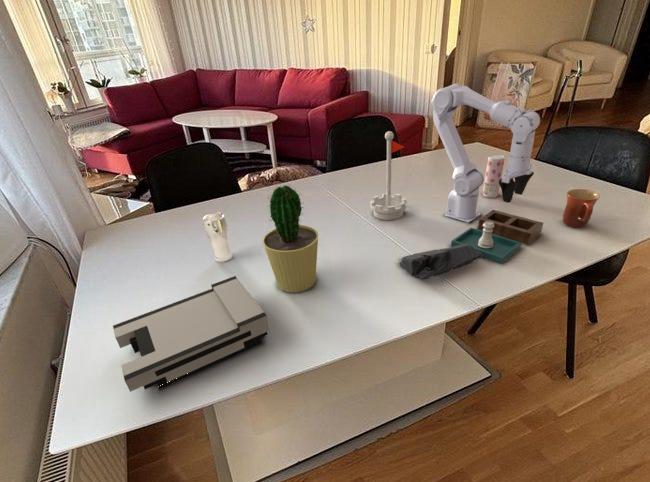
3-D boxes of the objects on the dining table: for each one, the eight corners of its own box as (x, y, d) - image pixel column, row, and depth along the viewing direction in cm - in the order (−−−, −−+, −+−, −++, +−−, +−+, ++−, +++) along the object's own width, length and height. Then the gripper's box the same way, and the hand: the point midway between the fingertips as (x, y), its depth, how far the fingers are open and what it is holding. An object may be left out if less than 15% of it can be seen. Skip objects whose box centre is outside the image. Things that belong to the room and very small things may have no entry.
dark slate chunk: (491, 264, 110) (491, 248, 108) (418, 283, 107) (418, 267, 105) (460, 246, 123) (460, 232, 121) (395, 262, 120) (394, 248, 118)
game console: (123, 346, 99) (110, 321, 94) (241, 299, 111) (235, 275, 106) (136, 403, 83) (122, 376, 79) (272, 341, 95) (266, 315, 91)
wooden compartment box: (477, 229, 131) (479, 218, 129) (491, 220, 136) (493, 209, 134) (527, 245, 120) (530, 233, 118) (540, 234, 125) (543, 222, 123)
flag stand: (366, 219, 146) (365, 136, 129) (375, 204, 155) (375, 126, 139) (402, 222, 141) (405, 137, 124) (409, 207, 151) (412, 126, 134)
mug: (555, 217, 133) (563, 189, 127) (584, 217, 131) (593, 188, 125) (566, 234, 123) (575, 204, 118) (598, 235, 121) (609, 204, 116)
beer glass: (238, 252, 134) (228, 212, 125) (228, 263, 128) (217, 222, 120) (220, 251, 136) (210, 211, 128) (209, 261, 131) (198, 221, 122)
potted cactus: (304, 302, 107) (290, 199, 91) (260, 289, 114) (240, 191, 98) (332, 273, 117) (324, 177, 101) (290, 263, 125) (276, 171, 109)
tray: (450, 246, 124) (451, 240, 123) (470, 232, 130) (470, 227, 129) (501, 263, 113) (502, 258, 112) (520, 248, 119) (521, 242, 118)
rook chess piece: (475, 243, 123) (478, 220, 119) (489, 241, 123) (493, 218, 119) (481, 250, 119) (485, 226, 115) (495, 248, 120) (500, 224, 115)
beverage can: (499, 193, 153) (506, 154, 145) (496, 198, 150) (503, 159, 141) (484, 191, 156) (490, 153, 148) (480, 196, 152) (486, 158, 144)
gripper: (522, 164, 112) (514, 208, 119) (545, 150, 119) (536, 193, 126) (498, 160, 116) (491, 203, 124) (521, 147, 124) (514, 188, 131)
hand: (512, 197), depth 125 cm, fingers open, 7 cm apart
